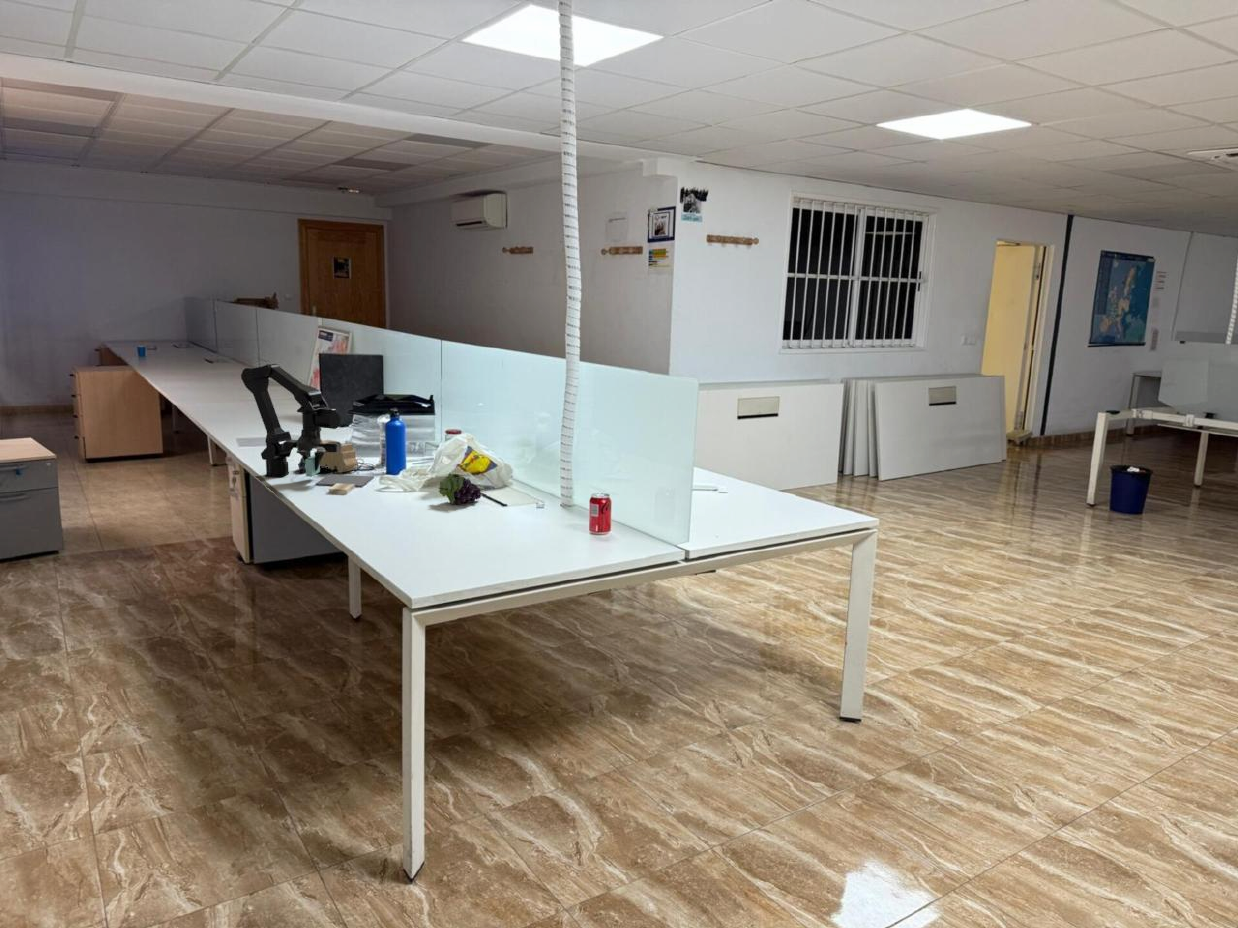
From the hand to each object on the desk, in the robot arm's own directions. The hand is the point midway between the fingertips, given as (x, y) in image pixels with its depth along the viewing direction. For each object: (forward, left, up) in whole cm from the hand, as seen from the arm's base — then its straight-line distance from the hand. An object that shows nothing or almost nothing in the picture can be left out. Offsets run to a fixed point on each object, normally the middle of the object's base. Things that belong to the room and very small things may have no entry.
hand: (312, 470), depth 302 cm
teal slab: (0, 0, -1) cm, 1 cm away
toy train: (+2, +19, -4) cm, 20 cm away
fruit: (+55, -21, -4) cm, 59 cm away
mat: (+11, +1, -4) cm, 12 cm away
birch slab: (+14, -12, -4) cm, 19 cm away
